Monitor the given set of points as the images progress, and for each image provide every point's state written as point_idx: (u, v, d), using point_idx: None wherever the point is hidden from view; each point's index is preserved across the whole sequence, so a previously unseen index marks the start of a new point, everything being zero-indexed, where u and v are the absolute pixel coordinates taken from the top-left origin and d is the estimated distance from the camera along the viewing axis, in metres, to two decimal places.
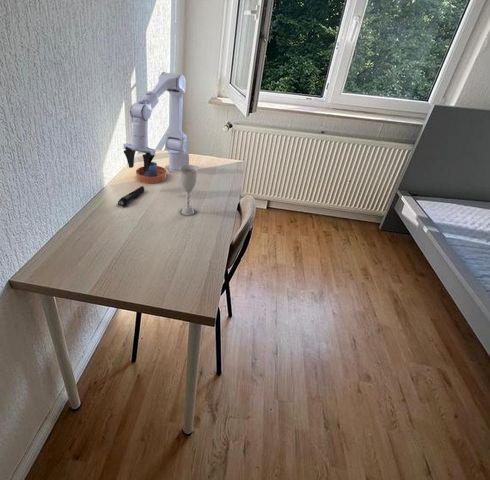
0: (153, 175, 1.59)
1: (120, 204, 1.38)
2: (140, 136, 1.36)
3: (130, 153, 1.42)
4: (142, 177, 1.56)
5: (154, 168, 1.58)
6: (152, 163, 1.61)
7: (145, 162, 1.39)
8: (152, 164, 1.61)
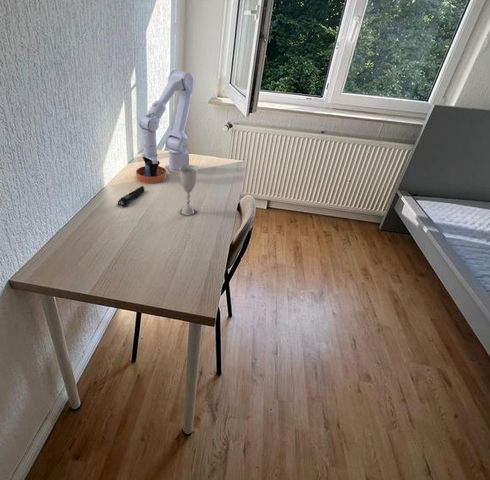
0: None
1: (120, 204, 1.38)
2: (146, 145, 1.51)
3: (147, 159, 1.60)
4: (142, 177, 1.56)
5: None
6: None
7: (149, 168, 1.56)
8: None
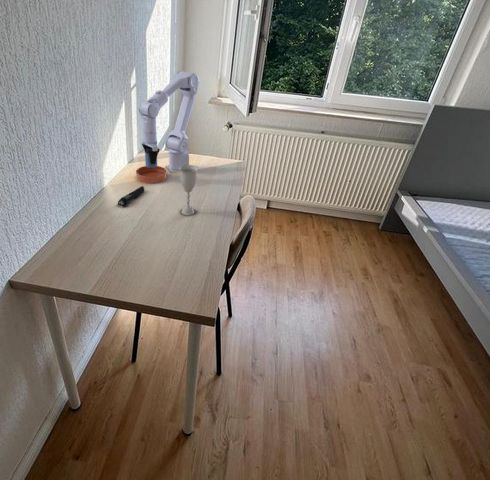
0: None
1: (120, 204, 1.38)
2: (146, 132, 1.48)
3: (147, 146, 1.56)
4: (142, 177, 1.56)
5: None
6: None
7: (149, 156, 1.52)
8: None
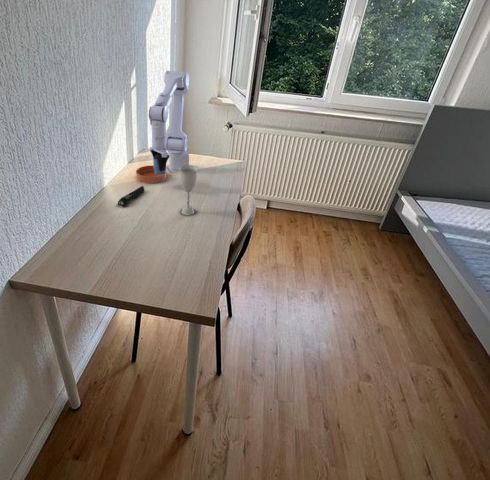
0: None
1: (120, 204, 1.38)
2: (155, 138, 1.40)
3: (155, 152, 1.48)
4: (142, 177, 1.56)
5: None
6: None
7: (158, 162, 1.44)
8: None
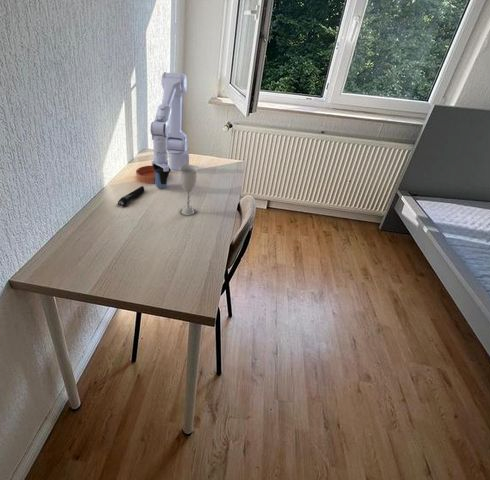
0: None
1: (120, 204, 1.38)
2: (157, 152, 1.42)
3: (157, 166, 1.50)
4: (142, 177, 1.56)
5: None
6: None
7: None
8: None
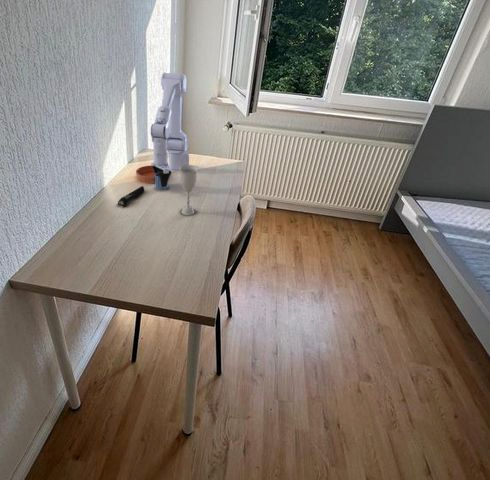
0: None
1: (120, 204, 1.38)
2: (157, 154, 1.43)
3: (156, 167, 1.52)
4: (142, 177, 1.56)
5: None
6: None
7: (160, 178, 1.46)
8: None
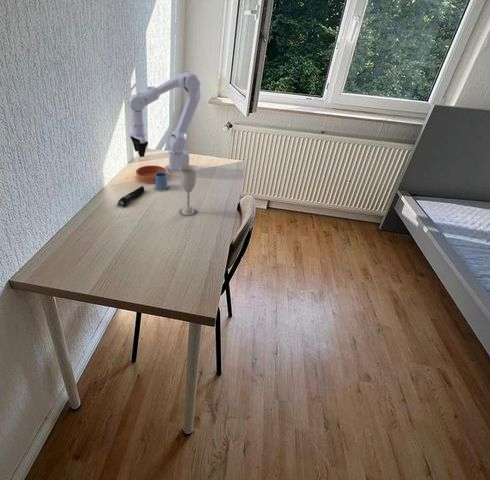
0: (163, 186, 1.51)
1: (120, 204, 1.38)
2: (134, 125, 1.52)
3: (135, 139, 1.62)
4: (142, 177, 1.56)
5: (164, 180, 1.49)
6: (162, 173, 1.52)
7: (138, 148, 1.56)
8: (162, 175, 1.53)
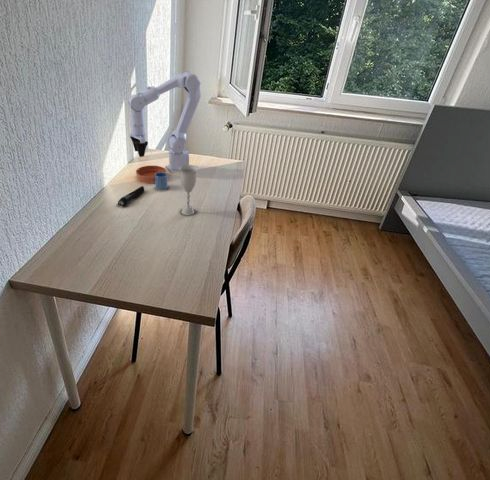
0: (163, 186, 1.51)
1: (120, 204, 1.38)
2: (134, 125, 1.53)
3: (134, 138, 1.62)
4: (142, 177, 1.56)
5: (164, 180, 1.49)
6: (162, 173, 1.52)
7: (137, 148, 1.56)
8: (162, 175, 1.53)
